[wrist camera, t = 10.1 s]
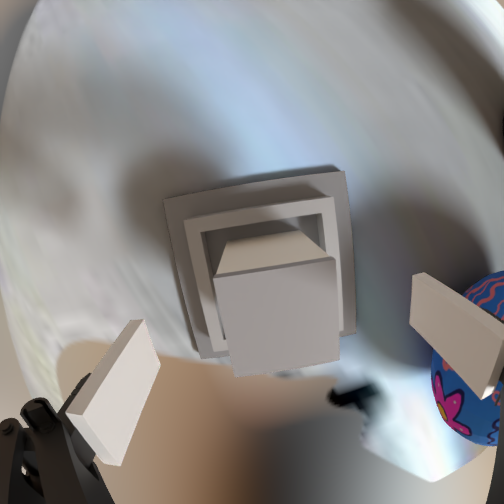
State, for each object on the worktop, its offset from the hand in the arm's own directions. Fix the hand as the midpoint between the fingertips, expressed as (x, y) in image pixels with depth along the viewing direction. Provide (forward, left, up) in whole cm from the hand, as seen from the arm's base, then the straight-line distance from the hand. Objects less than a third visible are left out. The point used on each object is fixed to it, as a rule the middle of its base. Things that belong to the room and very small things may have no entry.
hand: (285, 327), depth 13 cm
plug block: (0, 0, -10) cm, 10 cm away
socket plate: (0, 0, -10) cm, 10 cm away
